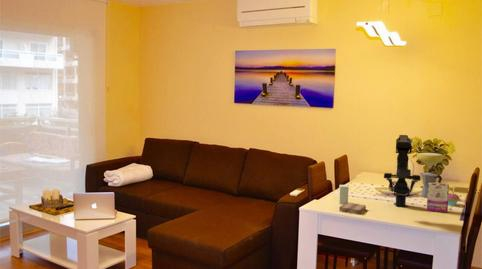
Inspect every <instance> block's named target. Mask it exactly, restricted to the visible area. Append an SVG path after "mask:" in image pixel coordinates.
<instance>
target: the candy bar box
mask: <svg viewBox="0 0 482 269" xmlns="http://www.w3.org/2000/svg"><path fill="white" fill-rule="evenodd" d="M449 189H450V187H449V183H447V182H445V183H444V182H441V183H438V182H435V183H434V182H428V195H427V198H426V200H427V201H426V210H427V211H428V212H437V213H438V212H440V213H448V212H449V211H448V210H449V208H448V206H449V205H448V193H449Z"/></svg>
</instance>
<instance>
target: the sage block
mask: <svg viewBox="0 0 482 269" xmlns="http://www.w3.org/2000/svg"><path fill="white" fill-rule="evenodd" d="M345 203H349V185H348V184H339V189H338V204H339V205H343V204H345Z"/></svg>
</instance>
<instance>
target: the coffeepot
mask: <svg viewBox="0 0 482 269" xmlns="http://www.w3.org/2000/svg"><path fill="white" fill-rule="evenodd" d="M419 175H420V176H421V179H422V184H423V185H422V186H423V188H421V195H420V196H421V197H422V198H426V199H427V195H428V182H434V183H442V180H443V177H442V176H441V175H440V174H436V173H433V172H432V170H431V169H430V170H429V169H428V171H427V172H421V173H420V174H419ZM437 178H438V182H436V181H437Z"/></svg>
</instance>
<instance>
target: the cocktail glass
mask: <svg viewBox="0 0 482 269" xmlns="http://www.w3.org/2000/svg"><path fill="white" fill-rule="evenodd" d="M416 158H417V160H418V161H420V162H422V163H423V164H425V165H426V166H427V168H428V170H431V168H432V167H434V165H436V164H439V163H441V162H443V161H444V159H445V154H444V153H441V152H435V151H417V152H416ZM420 188H421V189H423V185H421V186H420Z"/></svg>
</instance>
